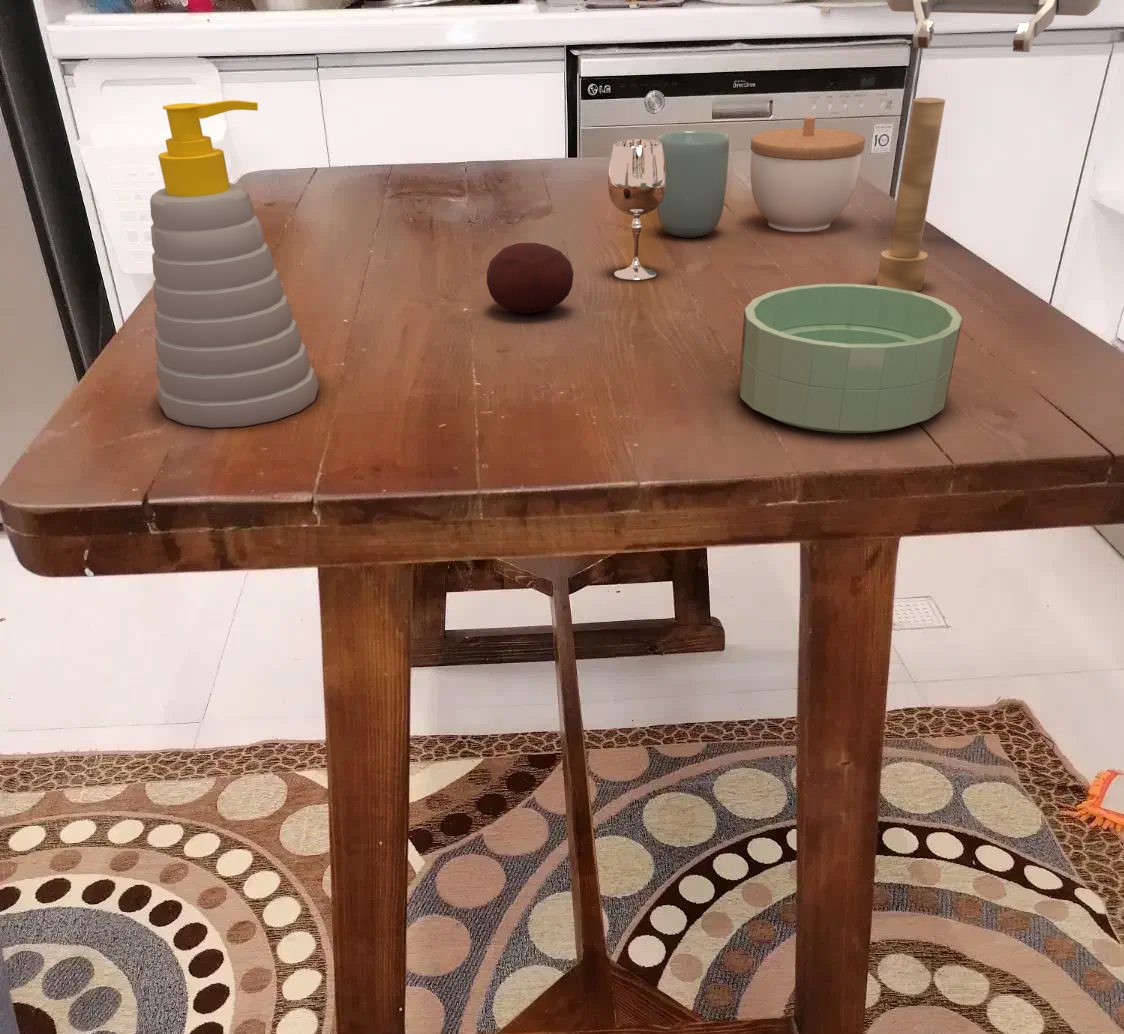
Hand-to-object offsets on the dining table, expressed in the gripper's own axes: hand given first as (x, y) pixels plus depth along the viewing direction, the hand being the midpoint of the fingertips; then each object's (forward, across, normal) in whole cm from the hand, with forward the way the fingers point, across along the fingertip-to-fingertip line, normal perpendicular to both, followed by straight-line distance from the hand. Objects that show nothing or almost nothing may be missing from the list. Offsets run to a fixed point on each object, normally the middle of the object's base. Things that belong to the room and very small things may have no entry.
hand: (969, 45), depth 105 cm
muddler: (+22, 0, +5) cm, 23 cm away
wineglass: (+27, -25, 0) cm, 37 cm away
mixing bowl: (+45, +5, -18) cm, 49 cm away
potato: (+39, -29, -11) cm, 49 cm away
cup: (+15, -28, +13) cm, 34 cm away
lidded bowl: (+8, -18, +19) cm, 27 cm away
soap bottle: (+60, -37, -33) cm, 78 cm away
